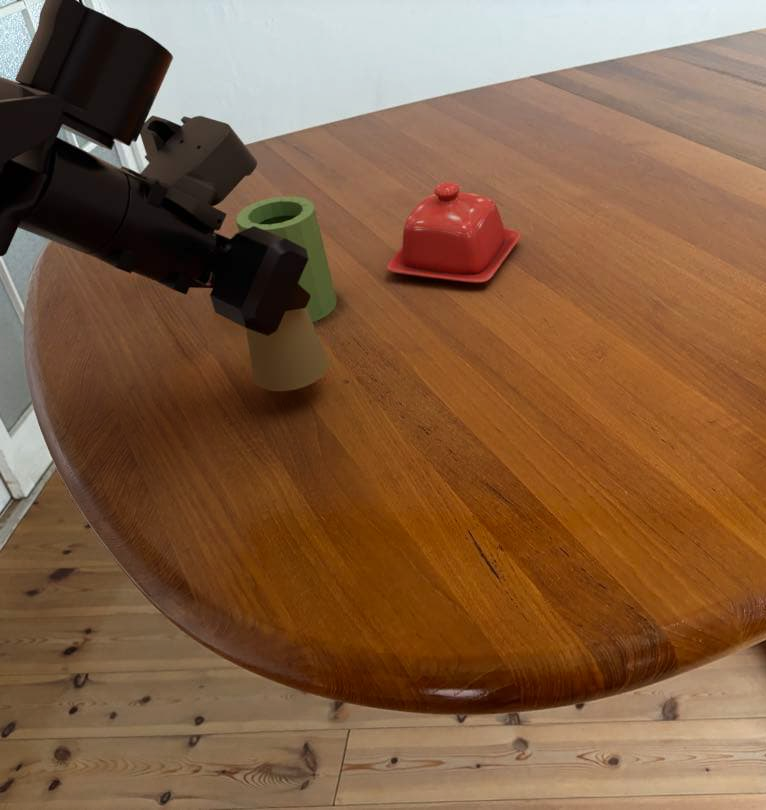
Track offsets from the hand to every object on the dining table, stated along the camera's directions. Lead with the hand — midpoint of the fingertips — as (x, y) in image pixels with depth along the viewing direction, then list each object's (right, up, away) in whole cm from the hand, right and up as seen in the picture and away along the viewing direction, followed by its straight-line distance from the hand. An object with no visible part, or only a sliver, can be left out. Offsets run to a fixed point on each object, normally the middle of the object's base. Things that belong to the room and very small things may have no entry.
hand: (286, 292), depth 64 cm
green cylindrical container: (-4, +1, +16) cm, 17 cm away
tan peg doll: (-1, -6, +3) cm, 7 cm away
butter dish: (+11, +6, +22) cm, 26 cm away
